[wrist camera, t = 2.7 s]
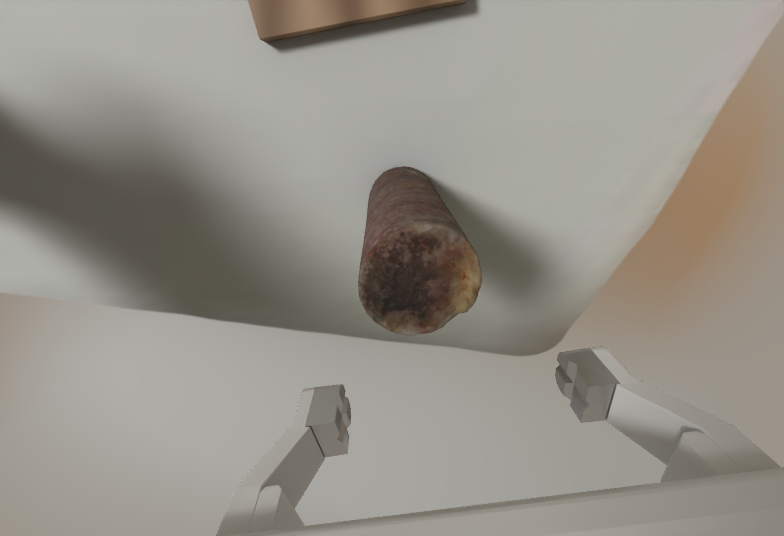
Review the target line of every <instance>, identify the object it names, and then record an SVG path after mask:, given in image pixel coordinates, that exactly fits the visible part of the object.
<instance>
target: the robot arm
mask: <svg viewBox="0 0 784 536" xmlns="http://www.w3.org/2000/svg"><path fill="white" fill-rule="evenodd" d="M557 361H558V362H559V364H560V365H559V366H558V367H557V368H556V375H555V376H556V381H557V384H558V386H559V388H560V390H561V392H562V393H563V395H564V396H566V397H568V398H569V399H571V404H570V406H571V407H572V409H573V411H574V412H575V414H576V415H577V417H578V418H579V420H580V422H581V423H582V422H592V421H602V420H607V422H608V423H609V424H611V425H612V426H614V427H615V428H616V429H618V430H619V431H620V432H622V433H623V434H625V435H626V436H627V437H629V438H630V439H631V440H633V441H634V442H636V443H637V444H638V445H640V446H642V447H643V448H644V449H645V450H647V451H648V452H649V453H651V454H652V455H654V456H655V457H657V458H658V459H659V460H660V461H662V462H663V463H665V464H666V465H667V467H666V469H665V471H664V473H663V475H662V478H661V483H653V484H645V485H637V486H629V487H621V488H613V489H604V490H596V491H588V492H580V493H571V494H563V495H555V496H547V497H538V498H530V499H522V500H513V501H505V502H497V503H489V504H481V505H473V506H465V507H456V508H448V509H440V510H432V511H424V512H416V513H409V514H400V515H392V516H383V517H375V518H367V519H359V520H351V521H343V522H334V523H326V524H319V525H310V526H305V525H304V524H303V522H302V521H301V519H300V517H299V516H298V514H297V513H296V511H295V507H296V505H297V504H298V502H299V500H300V499H301V497H302V496H303V494H304V492H305V491H306V489H307V487H308V486H309V484H310V482H311V481H312V479H313V478H314V476H315V474H316V473H317V471H318V469H319V468H320V466H321V464H322V463H323V461H324V460H325V458H324V457H329V456H336V455H342V454H347V453H348V443H349V434H348V431H347V428H348V427H349V425H350V422H351V421H350V420H351V408H350V403H349V400H348V398H347V397H345V389H344V386H343V385H332V386H323V387H316V388H308V389H303V391H302V392H301V395H300V398H299V402H298V405H297V409H296V413H295V416H294V420H293V424H292V427H291V429H289V430H286V431H285V433H284V434H283V435H282V436H281V437H280V438H279V439H278V440H277V442H276V443H275V444H274V445H273V446H272V447H271V449H270V450H269V451H268V452H267V453H266V454H265V455H264V456H263V457H262V459H261V460H260V461H259V462H258V463H257V464H256V465H255V466H254V468H253V469H252V470H251V471H250V472H249V473H248V474H247V475H246V477H245V478H244V479H243V480H242V481H241V482H240V483H239V485H238V486H237V487H236V488H235V489H234V491H233V494H232V496H231V499H230V501H229V504H228V507H227V509H226V512H225V515H224V517H223V520H222V522H221V525H220V527H219V530H218V533H217V535H216V536H784V467H783V468H781V467H780V466H779V465H778V464H777V463H775V461H773V460H772V459H771V458H770V457H769V456H768V455H767V454H766V453H765V452H763V451H762V450H761V449H760V448H759V447H758V446H756V444H754V443H753V442H752V441H751V440H750V439H749V438H748V437H747V436H746V435H744V434H743V433H742V432H741V431H740V430H739V429H738V428H737V427H736V426H734V425H733V424H731V423H729V422H726V421H724V420H722V419H720V418H718V417H716V416H714V415H712V414H710V413H708V412H706V411H703V410H701V409H699V408H697V407H695V406H693V405H691V404H689V403H687V402H685V401H683V400H681V399H679V398H676V397H674V396H672V395H670V394H668V393H666V392H664V391H662V390H660V389H658V388H656V387H654V386H652V385H649V384H647V383H645V382H643V381H636V379H635V378H634V377H633V376H632V375H631V374H630V373H629V372H628V371H627V370H626V369H625V368H624V367H623V366H622V365H621V364H620V363H619V361H618V360H617V359H616V358H615V357H614V356H613V355H612V354H611V353H610V352H609V351H608V350H607V349H606V348H605V347H603V346H601V347H594V348H588V349H579V350H573V351H567V352H561V353H559V355H558V358H557Z"/></svg>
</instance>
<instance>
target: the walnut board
mask: <svg viewBox="0 0 784 536" xmlns="http://www.w3.org/2000/svg"><path fill="white" fill-rule="evenodd" d="M466 1H467V0H248V2H249V5H250V8H251V12H252V15H253V18H254V22H255V25H256V28H257V32H258V35H259V38H260V39H261V40H262V41H264V42H269V41H274V40H279V39H284V38H289V37H294V36H300V35H305V34H310V33H315V32H320V31H325V30H330V29H335V28H340V27H345V26H350V25H356V24H361V23H366V22H371V21H376V20H381V19H386V18H391V17H396V16H401V15H406V14H411V13H417V12H422V11H427V10H432V9H437V8H442V7H447V6H452V5H457V4H462V3H465V2H466Z"/></svg>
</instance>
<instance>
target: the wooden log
mask: <svg viewBox="0 0 784 536" xmlns="http://www.w3.org/2000/svg"><path fill="white" fill-rule="evenodd" d="M481 272H482V271H481V268H480V263H479V259H478V256H477V253H476V251H475V250H474V249H473V247H472V245H471V244H470V242H469V241H468V239H467V237H466V236H465V234H464V233H463V231H462V230H461V228H460V227H459V225H458V223H457V222H456V220H455V219H454V218H453V216H452V214H451V213H450V211H449V210H448V208H447V207H446V205H445V203H444V202H443V201H442V199H441V197H440V195H439V194H438V192H437V191H436V189H435V188H434V186H433V184H432V183H431V181H430V180H429V179H428V178H427V177H426V175H425V174H423V173H422V172H420V171H419V170H417V169H414V168H411V167H396V168H392V169H389V170H387V171H385V172H383V173H382V174H381V175H380V176H379V178H378V179H377V180H376V181H375V183H374V184H373V186H372V189H371V192H370V196H369V202H368V210H367V220H366V229H365V236H364V243H363V250H362V256H361V263H360V271H359V280H358V287H359V296H360V300H361V303H362V305H363V307H364V309H365V310H366V313H367V314H368V315H369V316H370V317H371V318H372V319H373V320H374V321H375V322H376V323H378V324H379V325H381V326H383V327H384V328H386V329H387V330H388V331H391V332H394V333H397V334H403V335H416V334H423V333H430V332H433V331H435V330H437V329H439V328H441V327H444V325H445V324H446V323H447V322H448V321H450V320H451V319H452V318H453V317H455V316H456V315H457V314H460V313H465V312H467V311H468V310H469V308H471V307H472V306H473V304H474V303H475V301H476V299H477V296H478V291H479V289H480V287H481V283H482V277H481Z"/></svg>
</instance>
